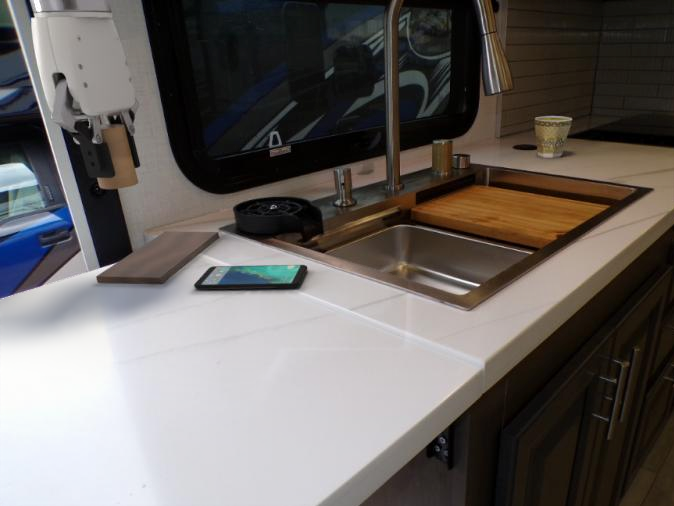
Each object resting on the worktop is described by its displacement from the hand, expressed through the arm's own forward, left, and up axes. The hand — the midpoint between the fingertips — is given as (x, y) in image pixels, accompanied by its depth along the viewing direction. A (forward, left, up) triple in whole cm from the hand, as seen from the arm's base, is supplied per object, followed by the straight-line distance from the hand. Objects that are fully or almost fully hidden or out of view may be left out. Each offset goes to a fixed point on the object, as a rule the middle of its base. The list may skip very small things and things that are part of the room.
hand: (115, 170), depth 65 cm
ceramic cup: (+68, +95, -17) cm, 118 cm away
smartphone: (+13, +6, -17) cm, 22 cm away
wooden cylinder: (0, 0, -2) cm, 2 cm away
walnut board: (-5, +13, -17) cm, 22 cm away
